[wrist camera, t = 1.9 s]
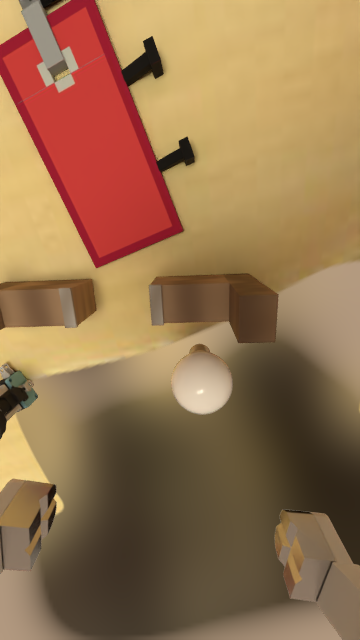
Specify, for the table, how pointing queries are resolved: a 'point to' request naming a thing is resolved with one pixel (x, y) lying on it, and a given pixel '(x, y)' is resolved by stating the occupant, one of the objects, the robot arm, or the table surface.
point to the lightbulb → (201, 381)
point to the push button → (13, 395)
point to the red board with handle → (91, 127)
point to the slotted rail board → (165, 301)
